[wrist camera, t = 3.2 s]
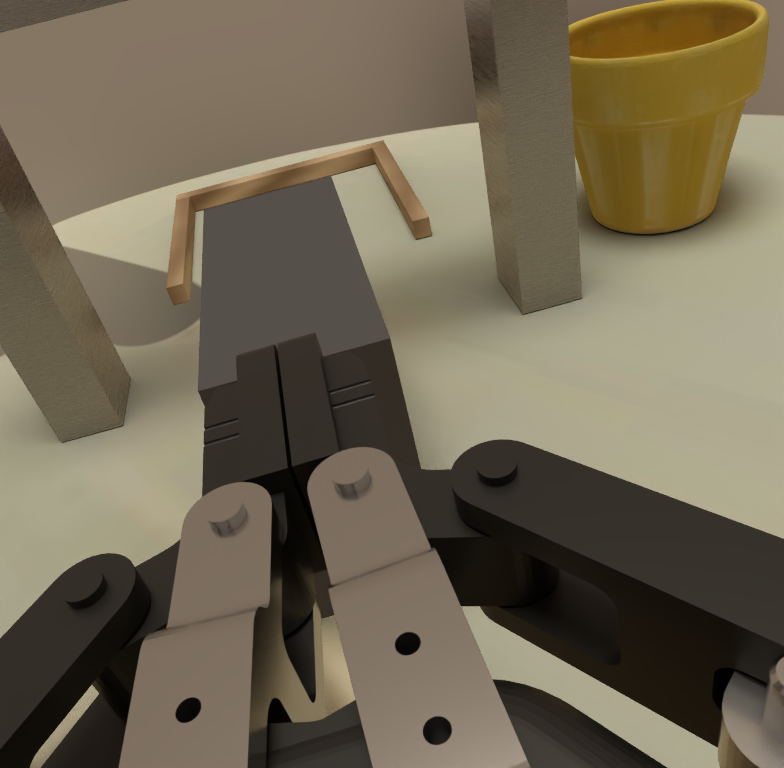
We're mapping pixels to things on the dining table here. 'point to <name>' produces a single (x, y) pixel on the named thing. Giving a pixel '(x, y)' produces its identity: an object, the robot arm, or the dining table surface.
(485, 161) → the grey metal arch
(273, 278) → the dark grey box
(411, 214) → the bay
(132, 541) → the dining table surface
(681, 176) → the plant pot
